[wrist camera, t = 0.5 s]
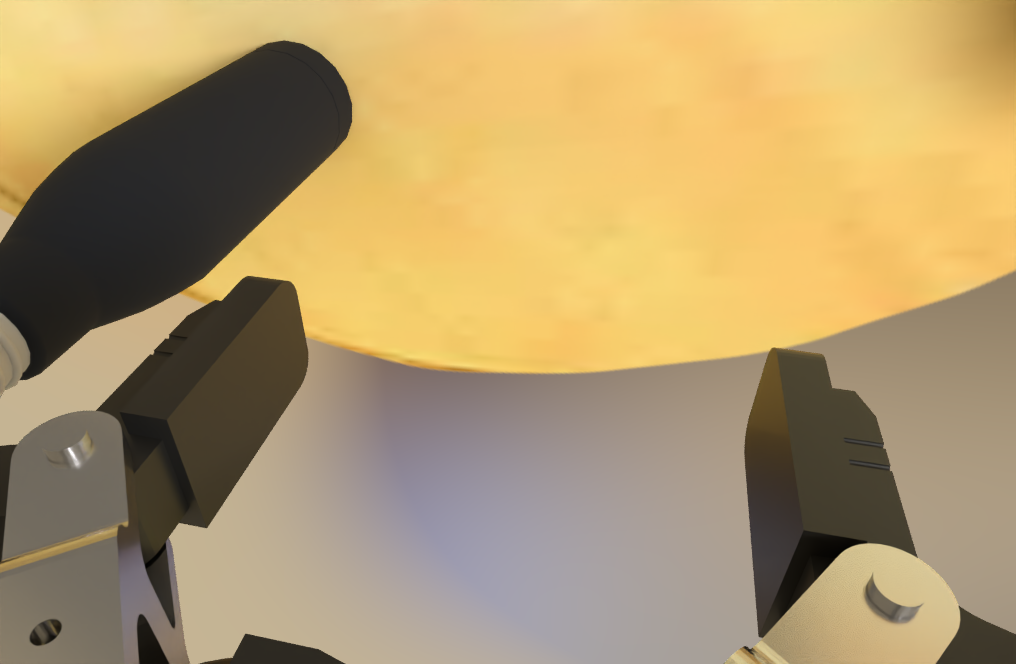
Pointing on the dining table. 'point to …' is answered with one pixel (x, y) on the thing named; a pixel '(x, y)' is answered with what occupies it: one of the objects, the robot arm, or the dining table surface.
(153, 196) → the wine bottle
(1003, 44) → the dining table surface
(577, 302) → the dining table surface
